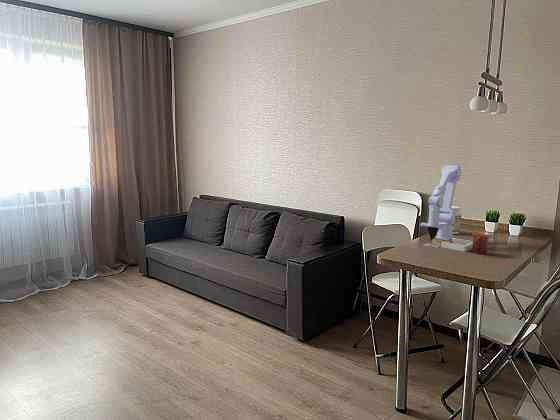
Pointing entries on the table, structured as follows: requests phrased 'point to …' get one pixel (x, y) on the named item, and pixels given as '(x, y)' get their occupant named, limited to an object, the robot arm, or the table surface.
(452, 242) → the tile front
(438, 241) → the tile rear
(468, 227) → the table surface
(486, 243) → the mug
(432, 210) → the robot arm
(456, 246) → the frame
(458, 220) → the supplement tub
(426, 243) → the slate coaster
